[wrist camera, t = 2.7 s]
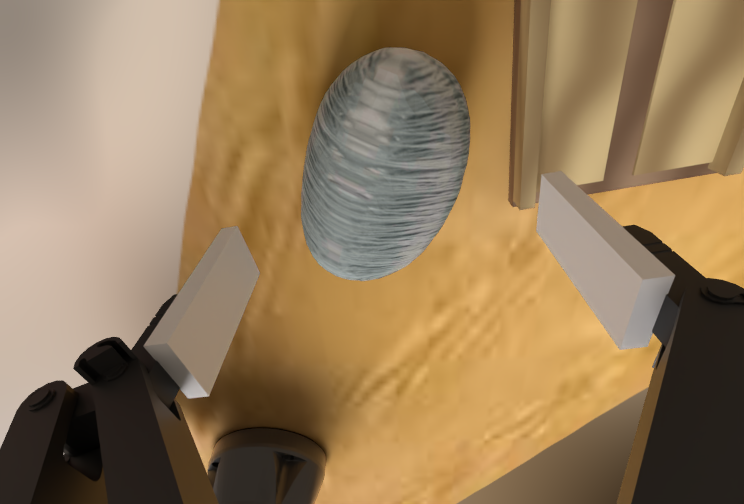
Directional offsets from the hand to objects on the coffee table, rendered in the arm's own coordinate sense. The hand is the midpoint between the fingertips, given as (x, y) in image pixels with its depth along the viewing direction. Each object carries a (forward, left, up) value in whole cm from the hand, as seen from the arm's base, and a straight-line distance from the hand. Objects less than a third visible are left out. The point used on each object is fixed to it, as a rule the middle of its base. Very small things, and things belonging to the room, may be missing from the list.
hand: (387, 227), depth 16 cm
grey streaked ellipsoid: (0, 0, -11) cm, 11 cm away
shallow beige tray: (+16, +2, -11) cm, 19 cm away
